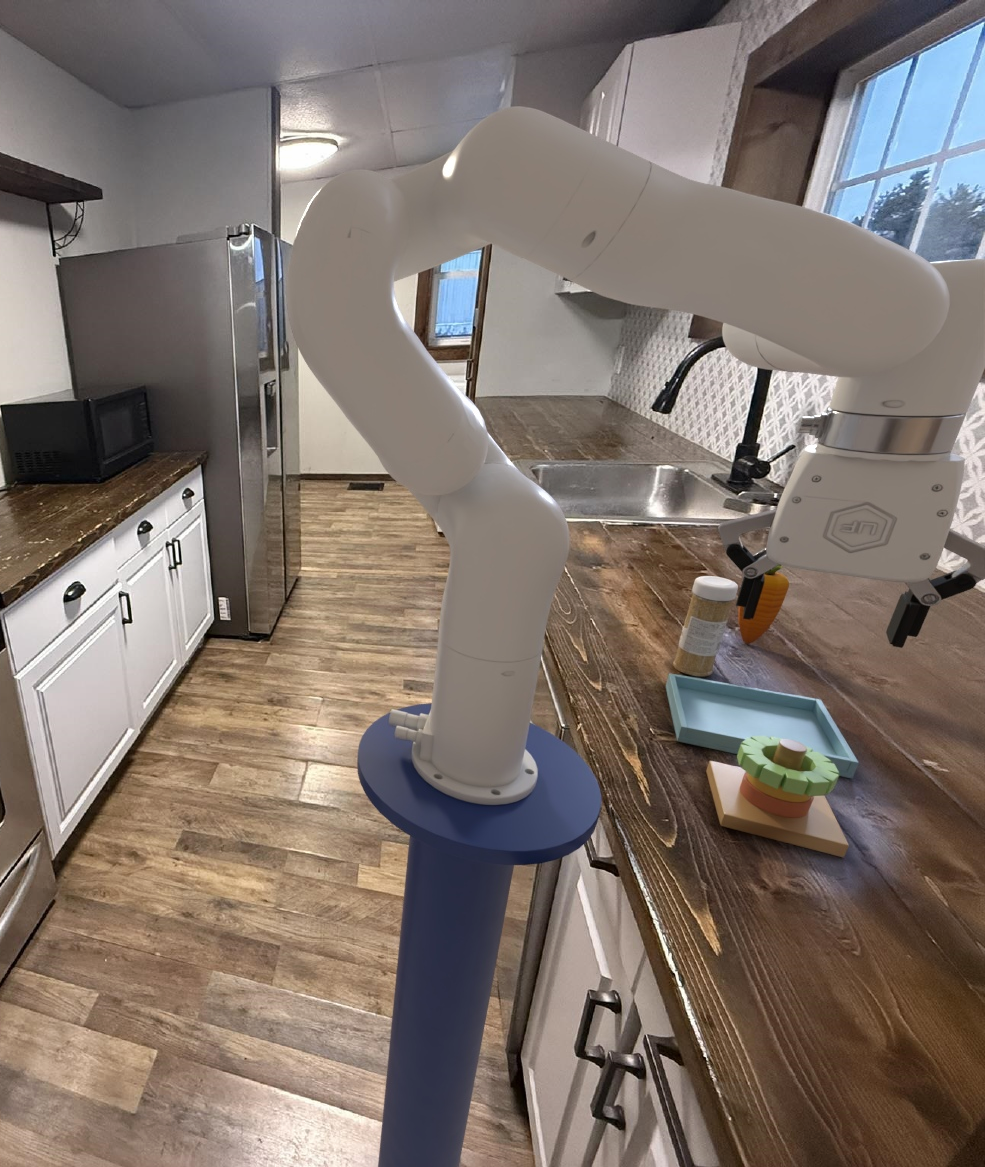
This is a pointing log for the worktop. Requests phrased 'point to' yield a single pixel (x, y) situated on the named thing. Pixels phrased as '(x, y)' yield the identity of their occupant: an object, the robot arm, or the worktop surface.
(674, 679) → the tray
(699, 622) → the sprinkles bottle
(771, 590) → the carrot
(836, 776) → the ring
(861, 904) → the worktop surface
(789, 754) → the stand
